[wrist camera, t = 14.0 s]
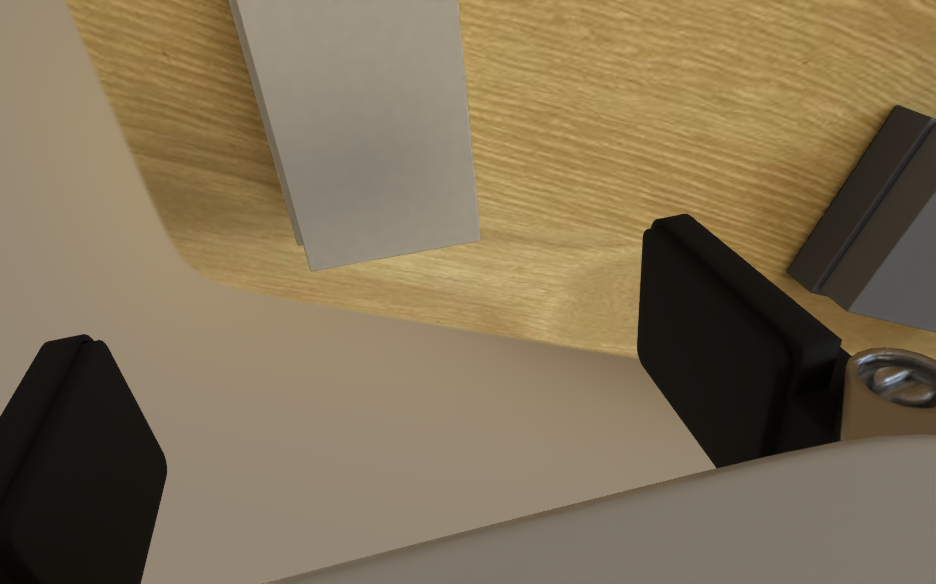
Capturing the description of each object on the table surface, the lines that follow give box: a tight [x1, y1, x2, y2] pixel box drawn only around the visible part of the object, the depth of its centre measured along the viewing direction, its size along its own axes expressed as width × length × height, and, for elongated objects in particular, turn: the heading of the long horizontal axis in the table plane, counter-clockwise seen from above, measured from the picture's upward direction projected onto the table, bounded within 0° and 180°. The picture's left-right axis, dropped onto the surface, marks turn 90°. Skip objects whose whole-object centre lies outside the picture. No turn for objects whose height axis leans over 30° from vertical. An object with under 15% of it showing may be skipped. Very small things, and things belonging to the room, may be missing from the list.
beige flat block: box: [236, 0, 480, 271], centre depth 22 cm, size 12×6×2 cm, turn 6°
